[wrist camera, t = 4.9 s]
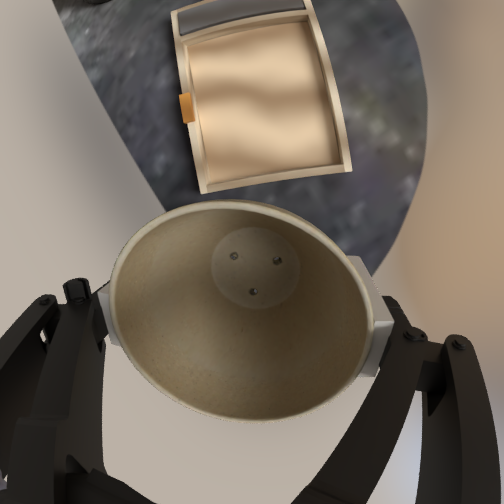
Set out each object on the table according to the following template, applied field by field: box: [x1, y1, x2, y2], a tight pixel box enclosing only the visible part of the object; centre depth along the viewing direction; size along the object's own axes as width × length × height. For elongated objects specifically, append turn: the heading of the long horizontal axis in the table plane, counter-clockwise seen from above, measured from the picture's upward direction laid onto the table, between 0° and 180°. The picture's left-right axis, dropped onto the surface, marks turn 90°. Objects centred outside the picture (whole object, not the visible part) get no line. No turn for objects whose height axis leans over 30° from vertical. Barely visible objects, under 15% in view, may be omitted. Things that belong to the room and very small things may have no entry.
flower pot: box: [109, 199, 374, 423], centre depth 13 cm, size 10×10×7 cm
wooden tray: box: [171, 0, 352, 194], centre depth 22 cm, size 22×14×3 cm
